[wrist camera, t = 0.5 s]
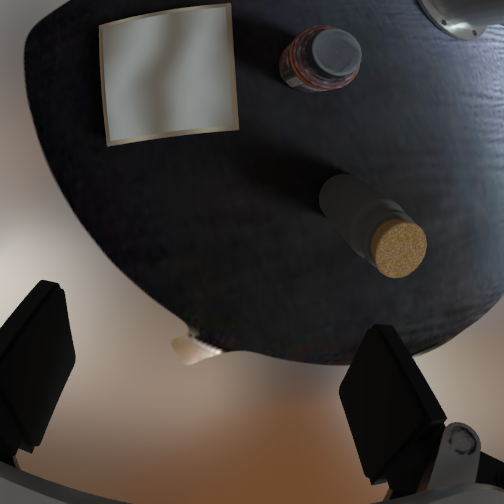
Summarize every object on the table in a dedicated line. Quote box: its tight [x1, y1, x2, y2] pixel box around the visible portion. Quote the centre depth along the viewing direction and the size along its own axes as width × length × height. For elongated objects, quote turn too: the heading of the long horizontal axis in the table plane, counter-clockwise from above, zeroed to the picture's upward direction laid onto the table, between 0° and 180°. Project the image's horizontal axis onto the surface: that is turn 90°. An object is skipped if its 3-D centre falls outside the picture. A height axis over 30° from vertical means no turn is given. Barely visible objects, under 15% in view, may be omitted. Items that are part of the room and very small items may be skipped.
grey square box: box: [99, 3, 239, 147], centre depth 28 cm, size 13×13×4 cm
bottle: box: [319, 174, 427, 278], centre depth 30 cm, size 6×6×15 cm
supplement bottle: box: [279, 25, 362, 93], centre depth 25 cm, size 6×6×11 cm
